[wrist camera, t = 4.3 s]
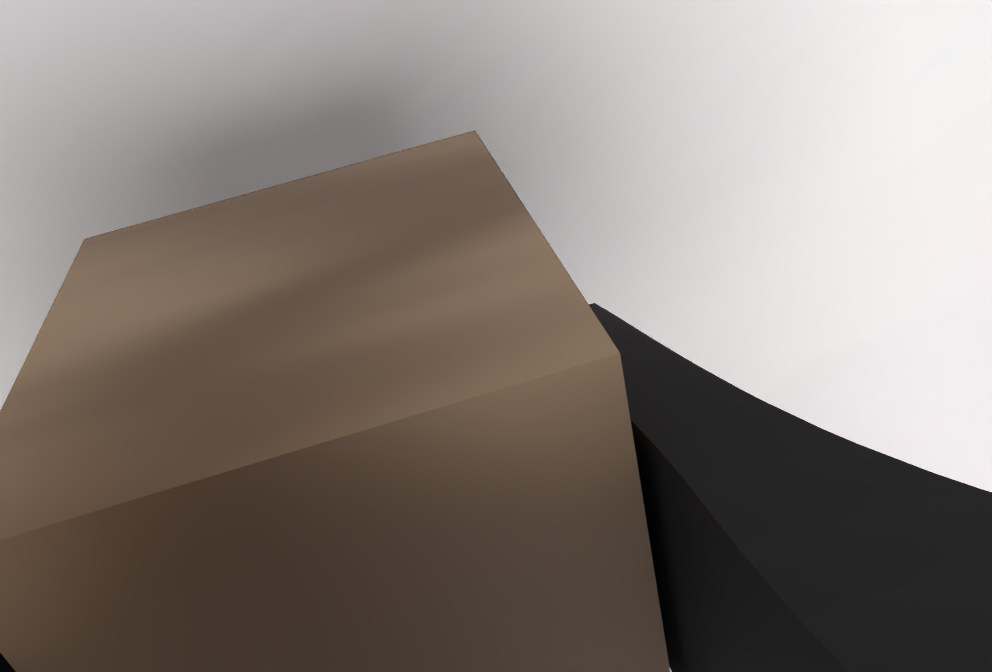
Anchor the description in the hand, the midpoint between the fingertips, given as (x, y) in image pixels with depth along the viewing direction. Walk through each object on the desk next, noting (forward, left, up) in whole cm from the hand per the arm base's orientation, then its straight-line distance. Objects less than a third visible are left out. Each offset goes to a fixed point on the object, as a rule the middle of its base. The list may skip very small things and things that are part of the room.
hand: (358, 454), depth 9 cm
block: (0, 0, -2) cm, 2 cm away
